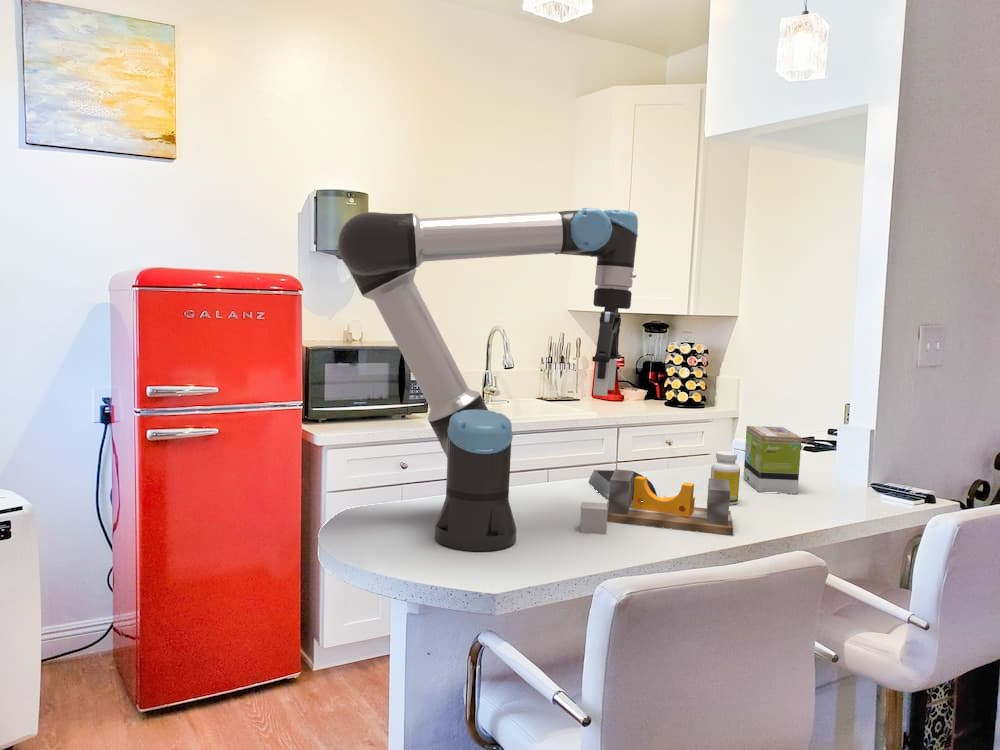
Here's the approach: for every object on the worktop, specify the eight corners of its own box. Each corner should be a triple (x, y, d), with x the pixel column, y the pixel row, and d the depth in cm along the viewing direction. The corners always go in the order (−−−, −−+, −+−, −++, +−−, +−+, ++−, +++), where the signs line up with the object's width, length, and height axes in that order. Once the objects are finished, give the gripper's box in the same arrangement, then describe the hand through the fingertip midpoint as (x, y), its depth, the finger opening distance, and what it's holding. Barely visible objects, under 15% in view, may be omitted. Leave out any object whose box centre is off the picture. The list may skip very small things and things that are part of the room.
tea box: (741, 479, 211) (745, 424, 210) (779, 481, 211) (784, 426, 210) (757, 493, 196) (762, 434, 195) (798, 495, 196) (803, 436, 195)
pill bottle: (739, 506, 182) (743, 456, 181) (710, 504, 183) (714, 454, 182) (735, 499, 188) (739, 451, 187) (707, 497, 189) (711, 449, 188)
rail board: (602, 521, 164) (604, 480, 163) (609, 504, 178) (611, 467, 177) (732, 535, 158) (735, 493, 157) (729, 517, 172) (732, 479, 171)
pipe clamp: (693, 512, 168) (695, 482, 167) (689, 516, 164) (691, 486, 163) (638, 503, 173) (640, 474, 172) (632, 507, 169) (634, 478, 168)
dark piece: (606, 503, 181) (607, 485, 181) (585, 483, 200) (586, 467, 200) (661, 503, 183) (662, 486, 182) (635, 484, 202) (636, 468, 202)
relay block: (580, 533, 155) (581, 508, 155) (579, 525, 160) (581, 501, 160) (606, 534, 155) (607, 509, 155) (604, 527, 160) (606, 503, 160)
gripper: (626, 287, 148) (616, 400, 150) (636, 291, 172) (627, 388, 174) (586, 284, 150) (576, 396, 152) (602, 289, 174) (593, 385, 176)
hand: (604, 392), depth 163 cm, fingers open, 13 cm apart
